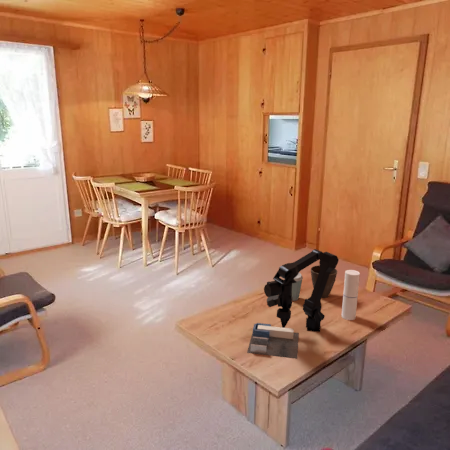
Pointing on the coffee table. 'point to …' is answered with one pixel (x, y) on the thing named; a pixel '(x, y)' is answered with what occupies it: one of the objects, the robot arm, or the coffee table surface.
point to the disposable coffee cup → (296, 287)
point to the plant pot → (330, 280)
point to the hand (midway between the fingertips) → (284, 322)
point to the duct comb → (272, 344)
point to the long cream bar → (278, 331)
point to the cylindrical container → (350, 294)
